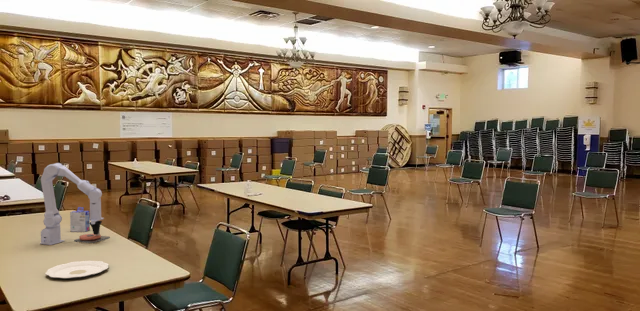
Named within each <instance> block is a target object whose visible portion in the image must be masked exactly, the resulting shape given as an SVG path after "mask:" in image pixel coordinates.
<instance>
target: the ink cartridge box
mask: <svg viewBox="0 0 640 311" xmlns="http://www.w3.org/2000/svg"><path fill="white" fill-rule="evenodd" d="M69 222H70V223H69V226H70V229H69V230H70V232H76V233H77V232H78V233H79V232H81V233H82V232H85V233H86V232H89V231H90V230H91V227H90V226H91V225H90V222H91V221H90V210H84V207H83V206H82V207H81V206H78V207H77V210H73V211H70V212H69ZM88 230H89V231H88Z"/></svg>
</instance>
